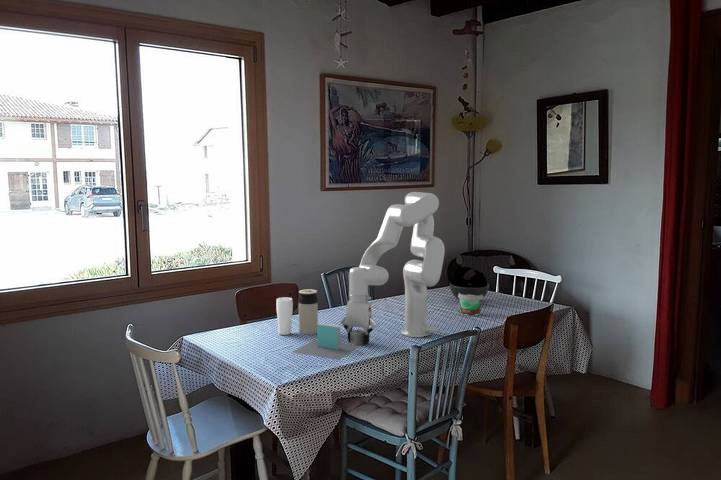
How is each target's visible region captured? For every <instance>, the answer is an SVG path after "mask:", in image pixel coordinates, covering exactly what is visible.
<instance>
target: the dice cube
mask: <svg viewBox="0 0 721 480" xmlns="http://www.w3.org/2000/svg"><path fill="white" fill-rule="evenodd" d="M349 332H350V342H348V343H349V344H350V345H356V346H360V345H365V344H364V335H365V332H364V329H360V328H356V329H352V331H349Z"/></svg>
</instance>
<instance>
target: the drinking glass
mask: <svg viewBox="0 0 721 480" xmlns="http://www.w3.org/2000/svg"><path fill="white" fill-rule="evenodd" d="M293 306H294V302H293V298H292V297H286V296H285V297H283V296H282V297H278V298H276V307H275V308H276V316H277V317H276V319H277V328H278V329H277V331H278V334H279V335H281V336H288V335H290V334H292V320H293V308H294V307H293Z"/></svg>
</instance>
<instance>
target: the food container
mask: <svg viewBox="0 0 721 480" xmlns="http://www.w3.org/2000/svg"><path fill="white" fill-rule="evenodd" d="M458 298H459V300H460V301H459V300H458V301H459V311H460V312H461V313H463V314H468V315H475V314H479V313H480V314H481V308H482V301H483V300H484V298H485V297H484V298H483V294H482V295H479V296H476V295H472V294H467V295H464V294H460V292H459V294H458ZM461 313H460V314H461Z"/></svg>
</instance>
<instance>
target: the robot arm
mask: <svg viewBox="0 0 721 480" xmlns="http://www.w3.org/2000/svg"><path fill="white" fill-rule="evenodd" d="M439 205H440V201H439V198H438V197H437V196H436V195H435V194H434V193H430V192H422V191H421V192H419V191H410V192H409V193H407V194H406V195H405V196H404V204H400V203H398V204H396V203H395V204H391V205H390V206H389V207H388V208H387V210H386V212H385V215H384V218H383V221H382V223H381V226H380V229H379V232H378V235H377V237H376V239H375V240H374V241H373V242H372V243H371V244H370V245H369V246H368V247H367V249H366V250H365V252H364V253H363V255H362V257H361V259H360V260H361V261H360V264H359V266H355V267H354V266H353V267H351V268H350V269H349V272H348V274H349V275H348V276H349V278H348V279H349V281H348V289H349V290H348V291H349V292H348V294H349V295H348V298H349V299H348V301H347V305H346V308H345V309H346V310H345V317H344V318H343V319H342V320H341V321H340V324H341V325H342V326H343V328H344V329H345V330H346V333H347V340H348V341H347V342H348V343H349V342H350V332H349V331H352V330H354V327H355V328H362V330H363V331H364V332H365V335H364V344H363V345H367V344H368V343H369V342H370V333H371V332H373V331H374V329H376V328H378V325H377V323H375V321H374V320H373V312H372V311H373V310H372V305H371V301H372V296H369V286H382V285H385V284H386V283H387V282H388V280H389V278H390V276H389V272H388V270H387V269H386V268H385V267H382V266H379V265H377V264H378V261H379V260H380V258H381V257H382V255H383V254H384V253H386V252H387V251H389V250H391V249H394V248H395V247H397V245H398V243H399V240H400V237H401V234H402V231H403V229H404V227H407V228H410V227H413V229H412V235H411V241H410V253H411V254H412V255H413V256H415V257H419V258H423V260H420V259H411V260H408V261H407V262H406V263H405V264H404V266H403V269H402V275H403V276H402V277H403V281H404V282H403V283H404V325H403V326H404V327H403V328H401V330H400V334H401V335H403V336H404V335H405V337H409V338H424V336H426V337H429V336H430V335H431V333H434V334H435V333H437V327H436V326H430V323H429V322H428V294H429V293H428V288H427V287H434V286H436V285H437V284H438V283H439V281H440V279H441V275H442V270H443V266H444V265H443V264H444V259H445V244H444V242H443V240H442V239H441V238H439V237H437V236H434V231H435V220H434V216H433V214H435V213H436V212H437V210H439V209H438V208H439ZM370 326H371V327H370ZM428 335H429V336H428Z"/></svg>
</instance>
